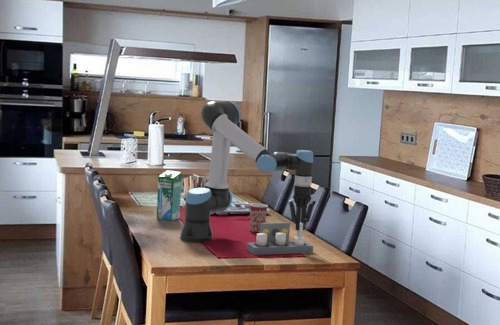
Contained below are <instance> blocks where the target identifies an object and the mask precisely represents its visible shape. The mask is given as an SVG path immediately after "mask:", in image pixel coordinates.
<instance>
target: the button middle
mask: <svg viewBox="0 0 500 325" xmlns="http://www.w3.org/2000/svg"><path fill="white" fill-rule="evenodd" d="M285 244H286V233H280V232H279V233H276V238H275V245H277V246H285Z"/></svg>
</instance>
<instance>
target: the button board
mask: <svg viewBox="0 0 500 325" xmlns="http://www.w3.org/2000/svg"><path fill="white" fill-rule="evenodd" d="M246 250H247V251H248V252H250V253H251V254H252V255H253V256H259V255H260V256H261V255H282V254H285V255H286V254H288V255H289V254H307V253H309V254H310V253H312V254H313V252H314V245H312V244H311V243H309V242H308V241H306V240H304V245H298V246H295V245H294V240H292V241H290V240H289V241H286V244H285V246H277V245H275V242H267V246H265V247H259V246H256V242H247V243H246Z"/></svg>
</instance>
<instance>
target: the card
mask: <svg viewBox="0 0 500 325" xmlns="http://www.w3.org/2000/svg"><path fill="white" fill-rule="evenodd" d="M290 229H291V223H290V222H265V223H261V226H260V233H265V234H267V242H275V238H276V233H279V232H280V233H286V241H290Z"/></svg>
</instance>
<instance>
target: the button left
mask: <svg viewBox="0 0 500 325" xmlns="http://www.w3.org/2000/svg"><path fill="white" fill-rule="evenodd" d="M255 241H256V246H259V247H265V246H267V234H265V233H256V240H255Z"/></svg>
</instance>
